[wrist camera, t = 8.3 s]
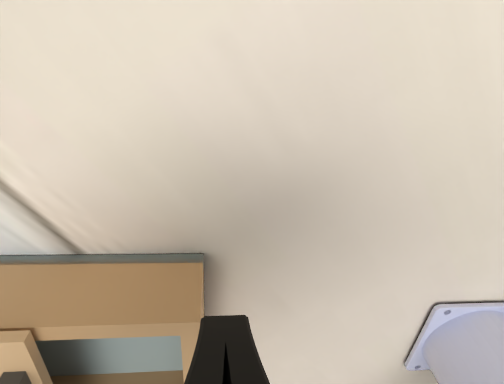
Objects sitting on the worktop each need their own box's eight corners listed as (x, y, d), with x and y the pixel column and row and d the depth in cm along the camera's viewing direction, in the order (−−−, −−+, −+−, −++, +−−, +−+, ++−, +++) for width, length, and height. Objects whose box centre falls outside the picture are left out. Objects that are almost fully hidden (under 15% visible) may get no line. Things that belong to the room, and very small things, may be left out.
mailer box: (203, 253, 21) (200, 322, 17) (205, 366, 27) (202, 437, 23) (-160, 257, 19) (-270, 337, 15) (-68, 379, 25) (-126, 459, 21)
